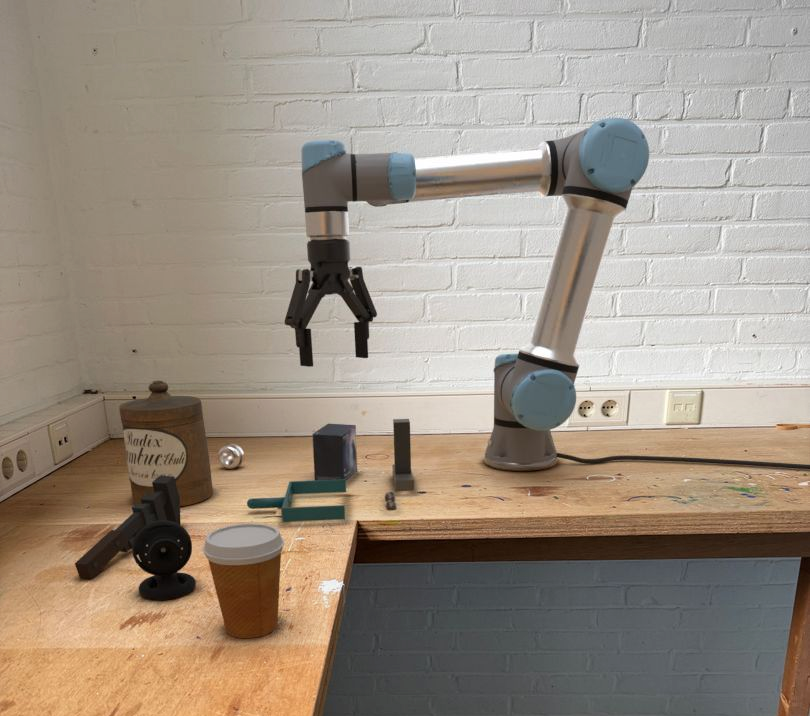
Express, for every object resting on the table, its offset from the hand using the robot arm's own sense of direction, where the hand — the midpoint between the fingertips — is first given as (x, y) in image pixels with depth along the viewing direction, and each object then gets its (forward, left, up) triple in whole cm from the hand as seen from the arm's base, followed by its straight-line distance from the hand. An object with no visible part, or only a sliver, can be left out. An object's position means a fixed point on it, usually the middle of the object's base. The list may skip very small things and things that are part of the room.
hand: (335, 361), depth 147 cm
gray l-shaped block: (-12, +1, -24) cm, 27 cm away
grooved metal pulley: (+24, -19, -24) cm, 39 cm away
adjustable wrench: (+32, +31, -24) cm, 51 cm away
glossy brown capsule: (-9, +16, -23) cm, 30 cm away
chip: (-9, +11, -23) cm, 27 cm away
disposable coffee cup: (+10, +61, -24) cm, 66 cm away
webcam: (+23, +48, -24) cm, 58 cm away
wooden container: (+32, +2, -24) cm, 40 cm away
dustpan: (+8, +14, -24) cm, 29 cm away
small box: (+1, -6, -24) cm, 25 cm away
